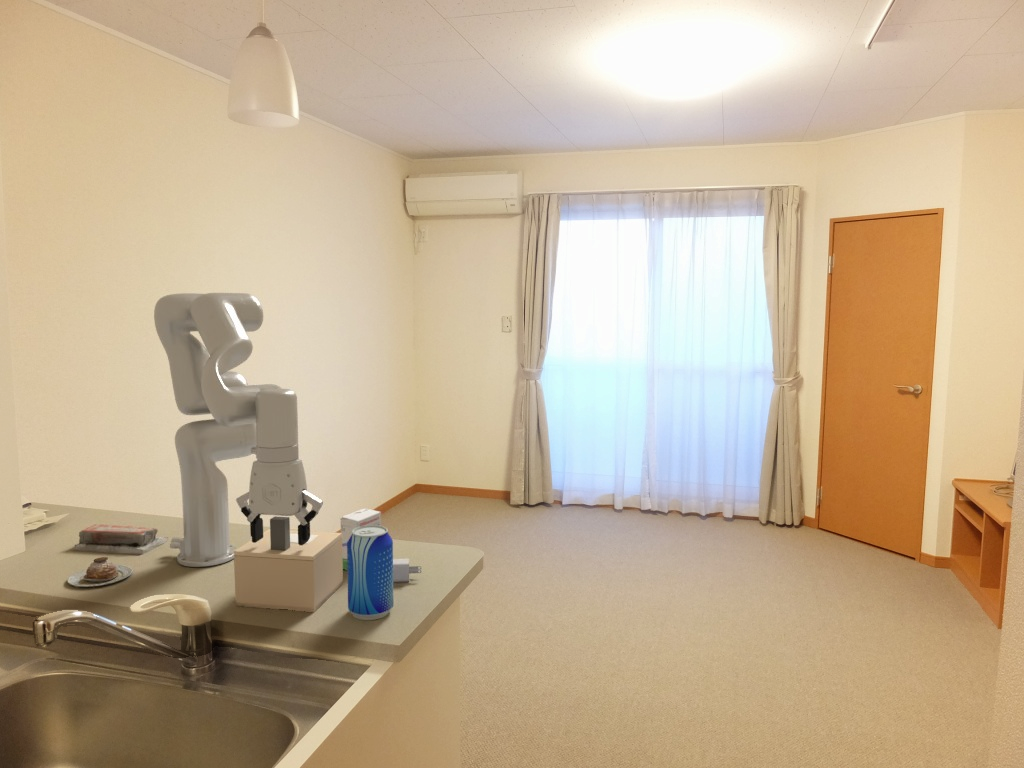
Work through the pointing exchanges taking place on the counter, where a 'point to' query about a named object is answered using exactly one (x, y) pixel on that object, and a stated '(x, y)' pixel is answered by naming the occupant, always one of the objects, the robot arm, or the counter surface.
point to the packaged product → (119, 539)
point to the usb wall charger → (403, 570)
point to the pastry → (100, 573)
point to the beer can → (370, 572)
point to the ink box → (353, 522)
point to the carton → (288, 580)
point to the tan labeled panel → (288, 543)
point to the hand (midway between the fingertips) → (280, 541)
